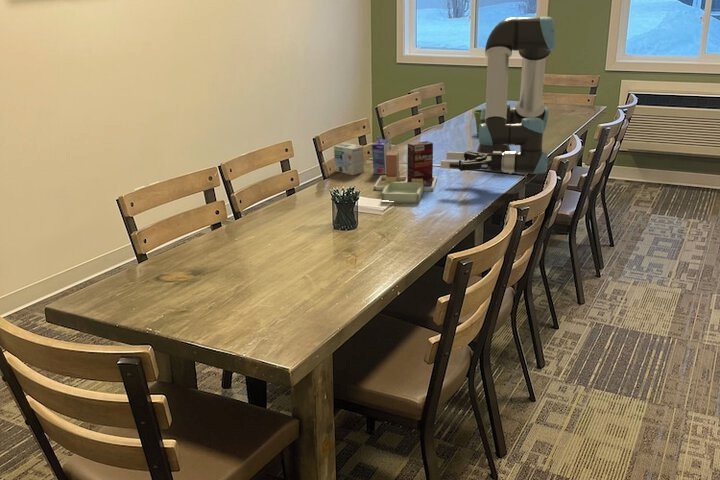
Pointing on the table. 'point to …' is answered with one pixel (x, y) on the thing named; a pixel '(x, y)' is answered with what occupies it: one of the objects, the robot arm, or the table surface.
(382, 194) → the tray
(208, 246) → the table surface
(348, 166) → the light bulb box
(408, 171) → the supplement box
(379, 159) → the ink cartridge box
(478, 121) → the plant pot
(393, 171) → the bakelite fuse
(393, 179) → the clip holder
